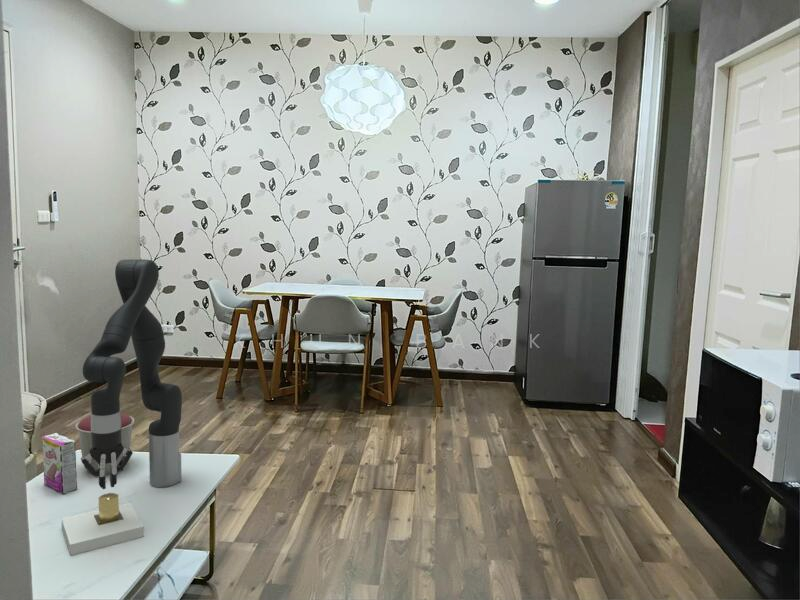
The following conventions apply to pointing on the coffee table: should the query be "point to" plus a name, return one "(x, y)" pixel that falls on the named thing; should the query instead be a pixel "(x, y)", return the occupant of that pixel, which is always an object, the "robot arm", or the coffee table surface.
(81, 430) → the canister
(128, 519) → the jig
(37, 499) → the coffee table surface
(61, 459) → the candy bar box
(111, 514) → the gold metal peg
